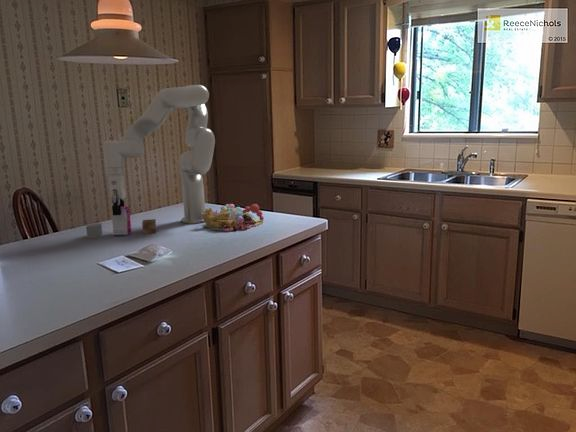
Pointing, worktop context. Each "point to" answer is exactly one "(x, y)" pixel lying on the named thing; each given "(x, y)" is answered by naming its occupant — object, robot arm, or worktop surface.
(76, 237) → the worktop surface
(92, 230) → the slate block
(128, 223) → the supplement box
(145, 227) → the walnut block
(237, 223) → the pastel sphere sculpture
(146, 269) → the worktop surface
